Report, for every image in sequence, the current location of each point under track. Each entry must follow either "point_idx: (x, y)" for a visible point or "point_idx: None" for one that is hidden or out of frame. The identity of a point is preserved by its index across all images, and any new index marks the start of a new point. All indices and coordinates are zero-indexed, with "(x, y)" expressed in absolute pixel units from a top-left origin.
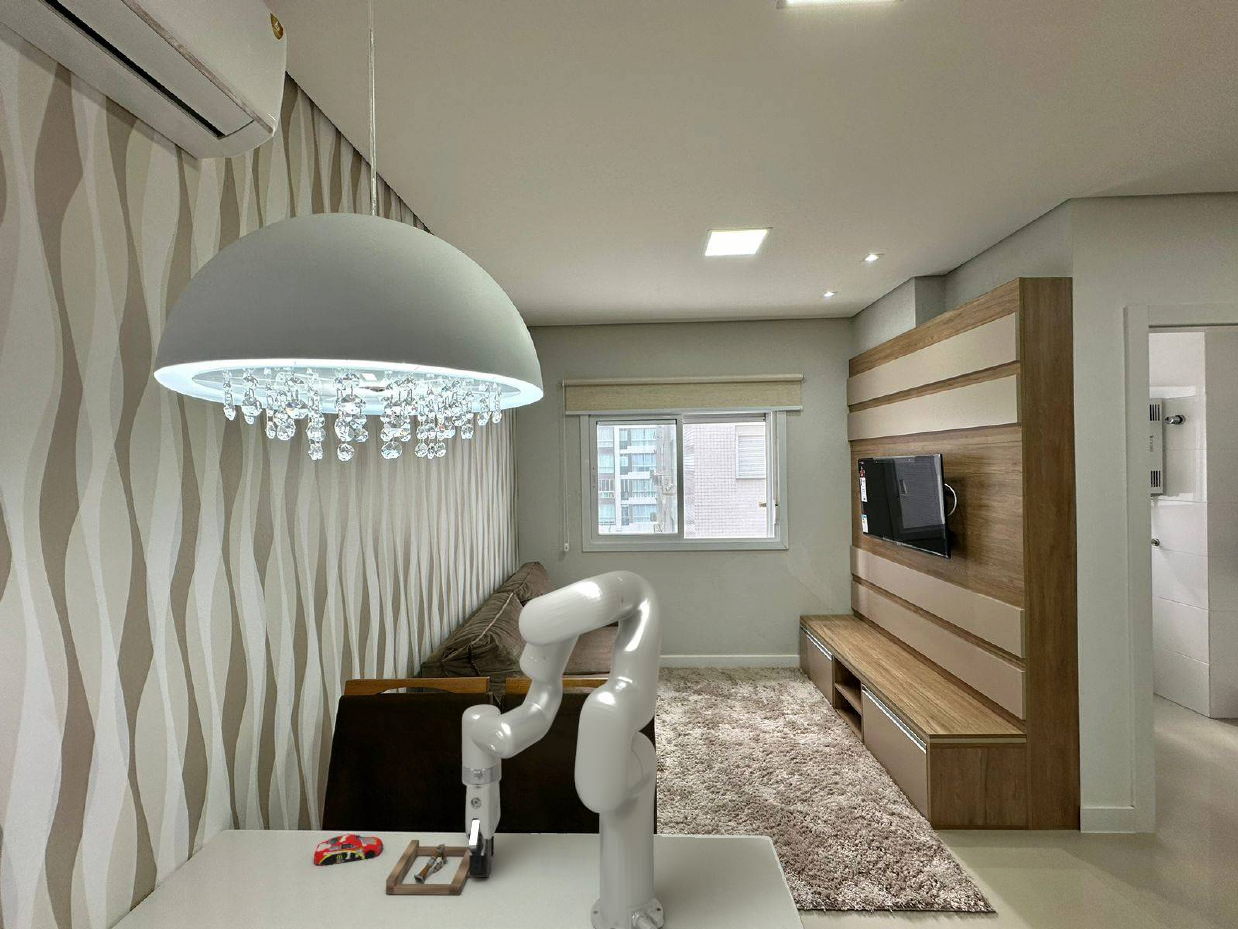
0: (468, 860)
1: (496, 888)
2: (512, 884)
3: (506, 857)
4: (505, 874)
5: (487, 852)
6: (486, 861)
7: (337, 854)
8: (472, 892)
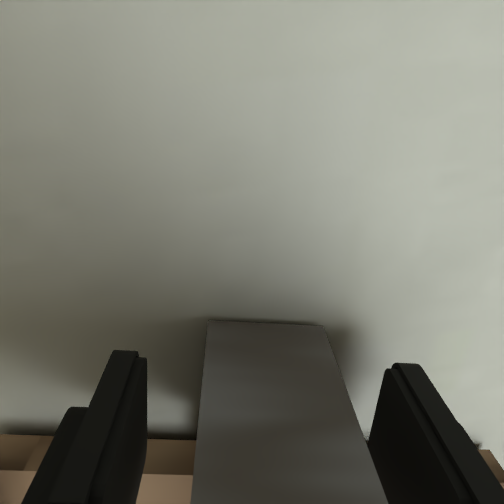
0: (178, 495)
1: (459, 247)
2: (435, 129)
3: (24, 226)
4: (282, 204)
5: (376, 480)
6: (454, 438)
7: None
8: (466, 386)
